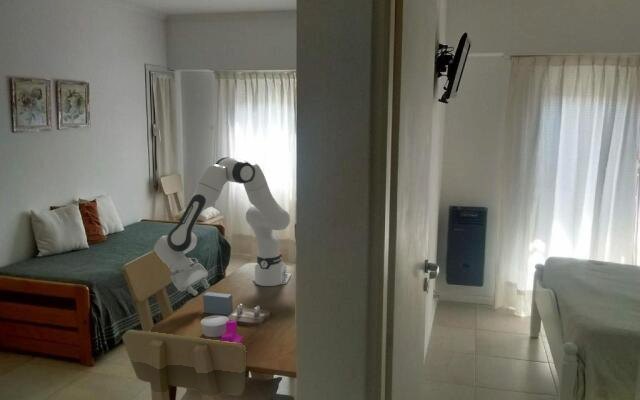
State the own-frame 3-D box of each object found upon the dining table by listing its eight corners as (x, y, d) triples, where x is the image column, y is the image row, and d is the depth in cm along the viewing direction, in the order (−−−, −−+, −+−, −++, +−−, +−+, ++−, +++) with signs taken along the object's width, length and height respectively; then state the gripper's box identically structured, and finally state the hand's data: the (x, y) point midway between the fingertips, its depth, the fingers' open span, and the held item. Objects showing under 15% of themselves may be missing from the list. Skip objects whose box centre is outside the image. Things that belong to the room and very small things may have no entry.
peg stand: (239, 310, 233) (238, 298, 232) (272, 314, 228) (272, 302, 227) (223, 322, 219) (223, 310, 219) (258, 327, 214) (258, 314, 214)
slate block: (208, 309, 235) (207, 291, 234) (232, 312, 231) (232, 294, 230) (203, 312, 231) (203, 294, 230) (228, 315, 228) (227, 297, 226)
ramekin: (222, 325, 217) (221, 312, 216) (234, 333, 208) (234, 321, 208) (196, 332, 211) (195, 319, 210) (208, 341, 202) (207, 328, 201)
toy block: (239, 356, 189) (238, 336, 188) (222, 356, 189) (221, 337, 188) (243, 338, 204) (243, 320, 203) (227, 339, 204) (226, 320, 203)
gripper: (172, 269, 223) (193, 294, 221) (198, 257, 242) (218, 279, 240) (164, 279, 225) (185, 303, 223) (190, 265, 244) (209, 288, 243)
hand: (202, 291), depth 232 cm, fingers open, 8 cm apart
